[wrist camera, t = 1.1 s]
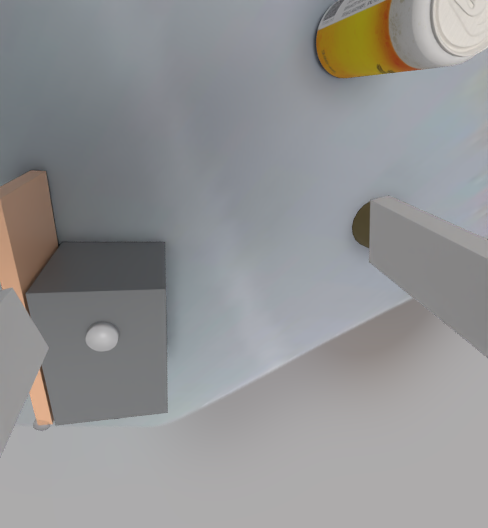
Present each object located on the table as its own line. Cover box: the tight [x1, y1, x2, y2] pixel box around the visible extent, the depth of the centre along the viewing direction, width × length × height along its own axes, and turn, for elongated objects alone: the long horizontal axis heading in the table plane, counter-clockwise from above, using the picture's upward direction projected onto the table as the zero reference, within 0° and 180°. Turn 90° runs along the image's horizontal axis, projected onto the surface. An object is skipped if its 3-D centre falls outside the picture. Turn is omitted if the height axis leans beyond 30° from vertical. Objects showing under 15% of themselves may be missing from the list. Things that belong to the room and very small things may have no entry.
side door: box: [0, 170, 58, 431], centre depth 30 cm, size 22×2×10 cm, turn 175°
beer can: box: [316, 0, 488, 78], centre depth 24 cm, size 6×6×15 cm
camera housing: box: [25, 242, 168, 425], centre depth 33 cm, size 16×10×11 cm, turn 175°
